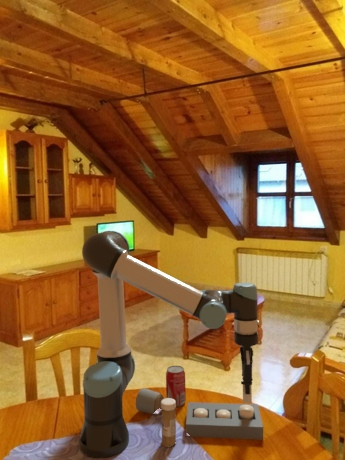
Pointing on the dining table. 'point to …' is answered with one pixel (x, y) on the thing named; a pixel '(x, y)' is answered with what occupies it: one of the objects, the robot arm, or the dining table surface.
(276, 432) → the dining table surface
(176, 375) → the soda can
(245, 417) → the right button
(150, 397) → the ceramic mug
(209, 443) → the dining table surface
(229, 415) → the middle button
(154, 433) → the dining table surface
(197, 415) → the left button
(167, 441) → the sprinkles bottle
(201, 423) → the button board
